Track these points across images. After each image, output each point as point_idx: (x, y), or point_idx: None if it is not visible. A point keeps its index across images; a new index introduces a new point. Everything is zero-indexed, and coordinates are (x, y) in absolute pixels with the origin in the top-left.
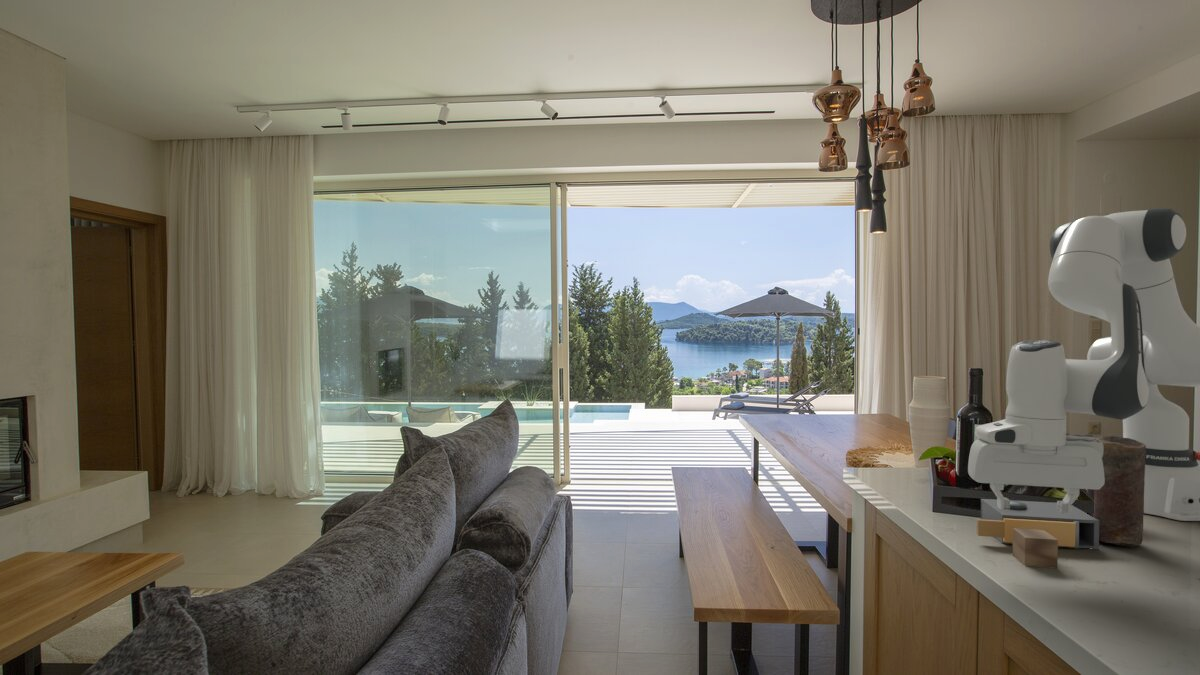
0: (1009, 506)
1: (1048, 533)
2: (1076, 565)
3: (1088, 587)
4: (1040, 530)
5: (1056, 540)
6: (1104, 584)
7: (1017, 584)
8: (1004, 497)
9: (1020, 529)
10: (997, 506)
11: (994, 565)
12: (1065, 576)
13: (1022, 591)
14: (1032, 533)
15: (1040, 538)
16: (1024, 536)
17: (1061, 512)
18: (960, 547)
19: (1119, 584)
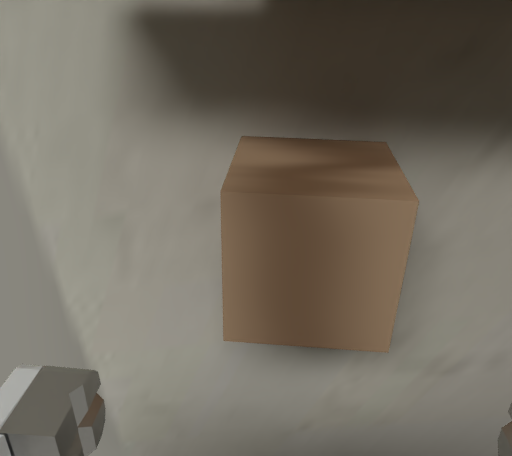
0: (92, 445)
1: (405, 260)
2: (476, 225)
3: (367, 404)
4: (387, 213)
5: (381, 348)
6: (442, 380)
7: (151, 403)
8: (37, 439)
9: (260, 211)
10: (25, 364)
11: (121, 271)
12: None
13: (149, 439)
14: (300, 274)
15: (302, 344)
16: (229, 323)
17: (500, 449)
18: (11, 66)
19: (498, 376)
